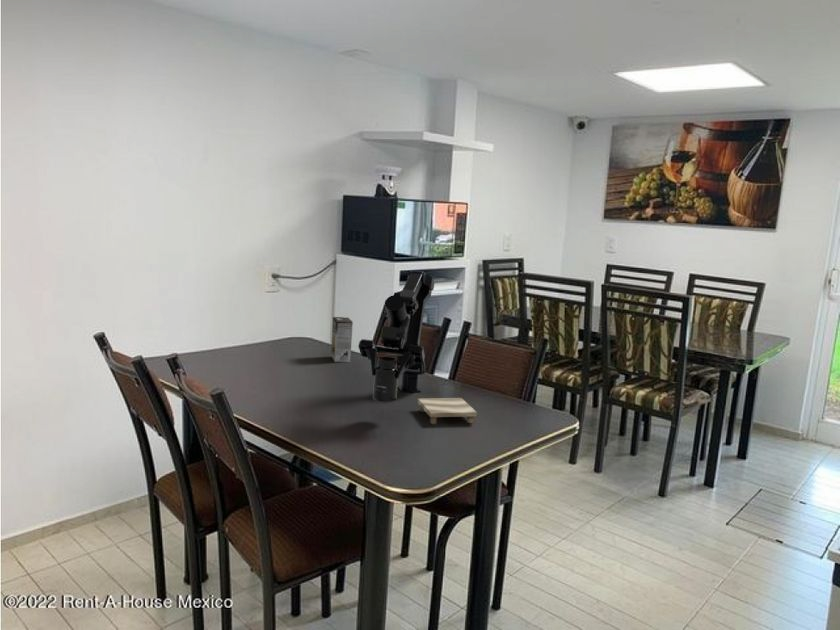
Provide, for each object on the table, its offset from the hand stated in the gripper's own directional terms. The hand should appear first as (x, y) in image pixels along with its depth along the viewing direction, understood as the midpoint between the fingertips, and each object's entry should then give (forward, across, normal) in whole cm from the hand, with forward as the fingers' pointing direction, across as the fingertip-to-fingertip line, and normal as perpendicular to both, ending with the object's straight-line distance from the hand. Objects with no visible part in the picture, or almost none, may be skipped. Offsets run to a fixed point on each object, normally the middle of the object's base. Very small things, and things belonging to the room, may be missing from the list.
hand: (385, 376), depth 179 cm
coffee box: (-36, -35, +56) cm, 75 cm away
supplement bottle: (+4, 0, +6) cm, 7 cm away
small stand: (+1, +16, +18) cm, 24 cm away
